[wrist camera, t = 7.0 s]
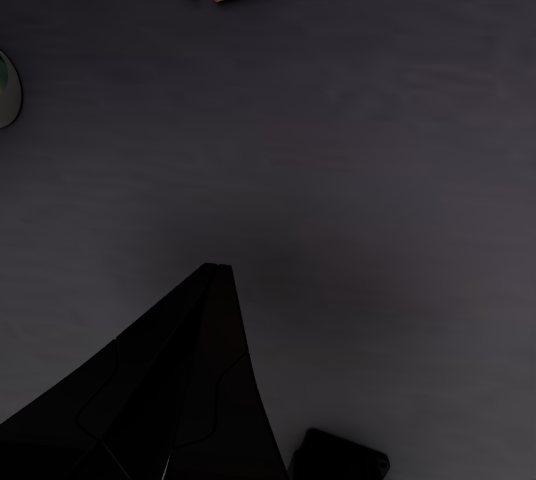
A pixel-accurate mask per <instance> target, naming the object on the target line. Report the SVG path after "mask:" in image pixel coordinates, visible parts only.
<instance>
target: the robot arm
mask: <svg viewBox="0 0 536 480" xmlns="http://www.w3.org/2000/svg"><path fill="white" fill-rule="evenodd" d="M171 450H172V451H171ZM169 456H170V457H169ZM168 459H169V462H168ZM167 462H168V466H167V469H166V473H165V476H164V480H384V478H385V476H386V474H387V472H388V470H389V468H390V462H389V459H388V457H387V456H385V455H382V454H380V453H377V452H374V451H371V450H369V449H366V448H363V447H360V446H358V445H355V444H352V443H349V442H347V441H344V440H341V439H338V438H336V437H333V436H330V435H327V434H325V433H322V432H319V431H316V430H313V429H311V430H308V431H307V432H306V435H305V438H304V440H303V443H302V445H301V448H300V450H297V451H295V452H294V455H293V457H292V460H291V463H290V465H289V468H288V471H286V468H285V465H284V463H283V460H282V457H281V454H280V451H279V449H278V446H277V443H276V440H275V437H274V435H273V432H272V429H271V426H270V423H269V420H268V418H267V415H266V412H265V409H264V406H263V403H262V400H261V397H260V394H259V391H258V388H257V384H256V380H255V376H254V372H253V368H252V363H251V358H250V354H249V349H248V344H247V339H246V334H245V329H244V324H243V320H242V315H241V310H240V305H239V300H238V295H237V290H236V285H235V280H234V275H233V270H232V266H231V265H225V264H219V265H217V264H214V263H204V264H203V265H201V266H200V267H199V268H198V269H197V270H195V271H194V272H193V273H192V274H191V275H190V276H188V277H187V278H186V279H185V280H184V281H182V282H181V283H180V284H179V285H178V286H176V287H175V288H174V289H173V290H172V291H170V292H169V293H168V294H167V295H166V296H165V297H163V298H162V299H161V300H160V301H159V302H157V303H156V304H155V305H154V306H153V307H151V308H150V309H149V310H148V311H147V312H145V313H144V314H143V315H142V316H141V317H140V318H138V319H137V320H136V321H135V322H134V323H132V324H131V325H130V326H129V327H128V328H126V329H125V330H124V331H123V332H122V333H120V334H119V335H118V336H117V337H116V340H115V339H113V340H112V341H111V342H110V343H108V344H107V345H106V346H105V347H104V348H102V349H101V350H100V351H99V352H98V353H96V354H95V355H94V356H93V357H91V358H90V359H89V360H88V361H86V362H85V363H84V364H83V365H81V366H80V367H79V368H77V369H76V370H75V371H73V372H72V373H71V374H69V375H68V376H67V377H65V378H64V379H63V380H61V381H60V382H59V383H57V384H56V385H54V386H53V387H52V388H50V389H49V390H47V391H46V392H45V393H43V394H42V395H40V396H39V397H38V398H36V399H35V400H34V401H32V402H31V403H29V404H28V405H27V406H25V407H24V408H22V409H21V410H20V411H18V412H17V413H15V414H14V415H13V416H11V417H10V418H8V419H7V420H6V421H4V422H3V423H1V424H0V480H162V477H163V474H164V471H165V468H166V465H167Z"/></svg>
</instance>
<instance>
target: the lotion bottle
mask: <svg viewBox="0 0 536 480" xmlns="http://www.w3.org/2000/svg"><path fill="white" fill-rule="evenodd" d="M20 105H21V87H20V82H19V78H18V76H17V73H16V71H15V69H14V67H13V65H12V63H11V62H10V60H9V59H8V58H7V57H6V56H5V54H4V53H3V52H2V51H1V50H0V128H2V127H4V126H7V125H8V124H10V123H11V122H12V121H13V120H14V119H15V117H16V116H17V114H18V112H19V109H20Z"/></svg>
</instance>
